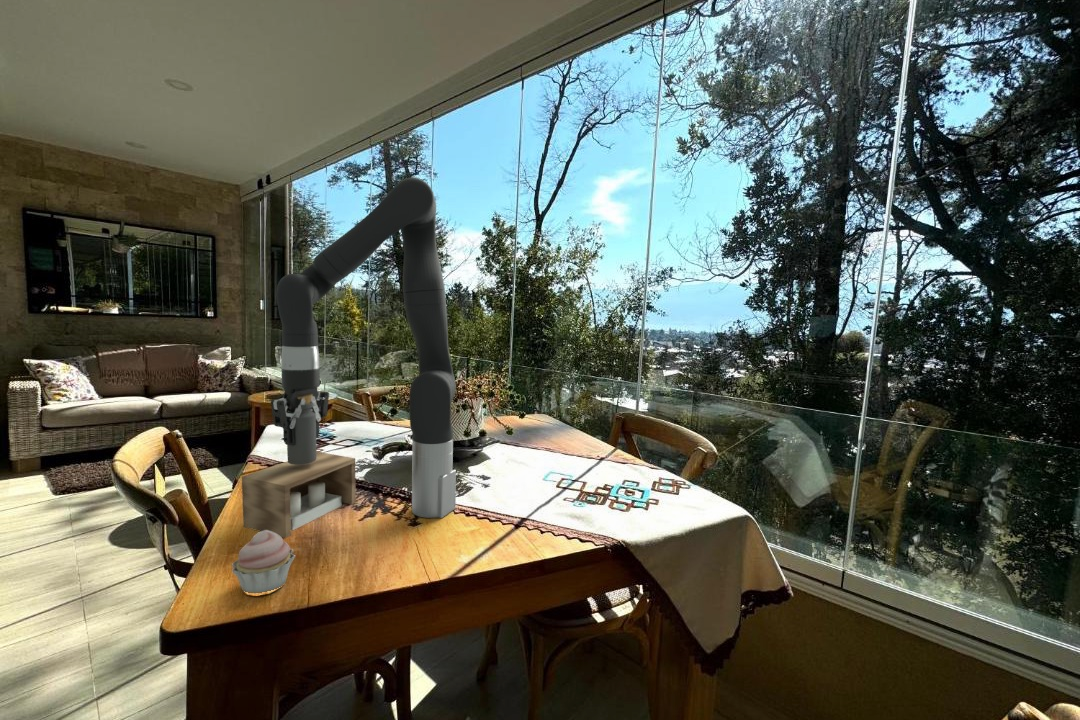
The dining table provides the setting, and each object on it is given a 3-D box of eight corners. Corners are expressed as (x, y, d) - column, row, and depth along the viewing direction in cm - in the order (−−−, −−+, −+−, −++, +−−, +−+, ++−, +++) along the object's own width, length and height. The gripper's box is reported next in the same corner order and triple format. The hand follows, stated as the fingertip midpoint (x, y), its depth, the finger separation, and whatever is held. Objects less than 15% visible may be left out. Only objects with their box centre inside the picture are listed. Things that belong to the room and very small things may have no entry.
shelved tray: (341, 505, 115) (341, 482, 114) (292, 530, 102) (292, 503, 101) (315, 500, 118) (315, 477, 117) (264, 523, 104) (263, 497, 104)
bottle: (308, 465, 106) (307, 397, 104) (282, 464, 106) (280, 396, 104) (321, 457, 111) (320, 393, 110) (296, 456, 112) (294, 392, 110)
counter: (355, 502, 117) (355, 458, 116) (286, 537, 98) (284, 485, 97) (317, 494, 121) (316, 451, 120) (243, 526, 103) (241, 476, 101)
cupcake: (269, 607, 76) (268, 546, 75) (218, 599, 78) (216, 539, 77) (308, 575, 85) (307, 521, 84) (261, 568, 87) (259, 515, 86)
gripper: (286, 371, 98) (288, 451, 100) (338, 364, 112) (339, 435, 113) (258, 368, 101) (261, 447, 103) (313, 362, 114) (314, 431, 116)
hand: (302, 440), depth 108 cm, fingers closed on bottle, 6 cm apart
